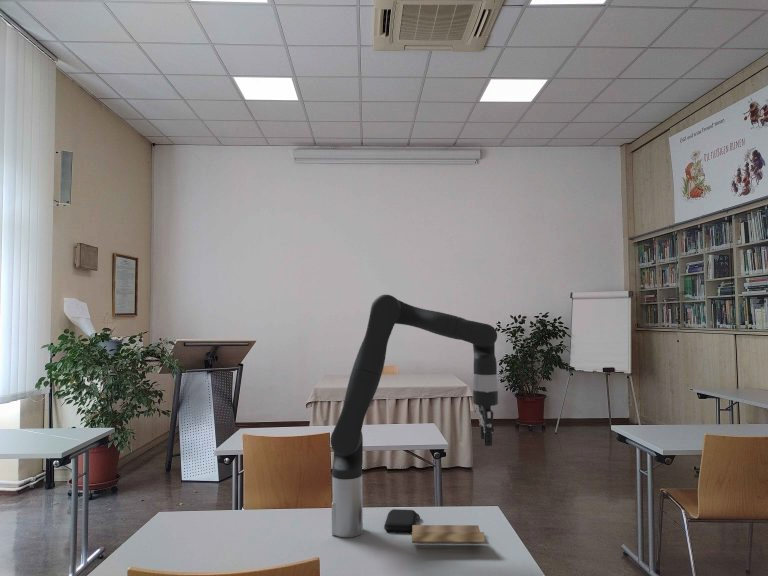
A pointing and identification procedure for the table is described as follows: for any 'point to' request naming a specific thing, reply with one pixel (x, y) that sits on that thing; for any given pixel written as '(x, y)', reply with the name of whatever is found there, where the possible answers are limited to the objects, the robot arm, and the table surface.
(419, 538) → the oak plank
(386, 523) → the carrying case or bag
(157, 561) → the table surface
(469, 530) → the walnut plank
